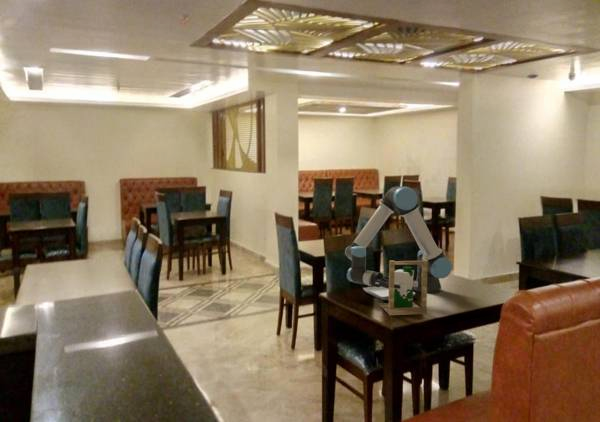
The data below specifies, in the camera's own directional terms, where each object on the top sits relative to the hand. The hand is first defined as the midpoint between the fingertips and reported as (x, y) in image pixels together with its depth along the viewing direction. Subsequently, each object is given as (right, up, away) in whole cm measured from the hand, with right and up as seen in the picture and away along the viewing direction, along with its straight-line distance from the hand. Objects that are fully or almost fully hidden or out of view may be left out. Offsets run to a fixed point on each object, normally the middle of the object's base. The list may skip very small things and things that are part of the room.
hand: (412, 286), depth 233 cm
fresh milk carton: (-3, -11, +4) cm, 12 cm away
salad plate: (-6, -10, +29) cm, 31 cm away
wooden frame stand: (-4, -12, +3) cm, 13 cm away
